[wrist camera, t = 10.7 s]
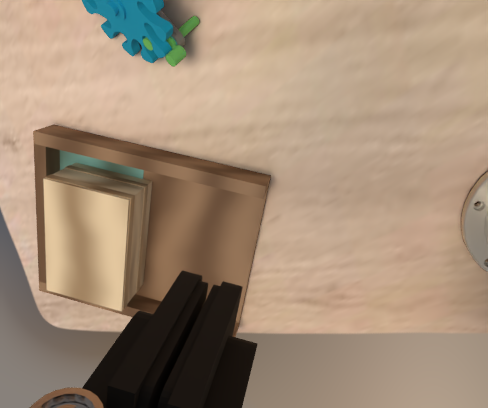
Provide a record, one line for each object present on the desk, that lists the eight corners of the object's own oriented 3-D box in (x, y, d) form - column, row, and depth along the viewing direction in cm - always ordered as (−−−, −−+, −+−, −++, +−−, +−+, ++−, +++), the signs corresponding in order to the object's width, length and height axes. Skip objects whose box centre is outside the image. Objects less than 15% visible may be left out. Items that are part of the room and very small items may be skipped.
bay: (270, 175, 38) (266, 186, 35) (238, 327, 45) (232, 345, 42) (53, 124, 40) (33, 131, 38) (56, 275, 48) (39, 290, 45)
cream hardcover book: (152, 181, 39) (129, 199, 35) (143, 283, 44) (122, 312, 40) (75, 162, 40) (42, 177, 36) (74, 264, 45) (46, 290, 41)
